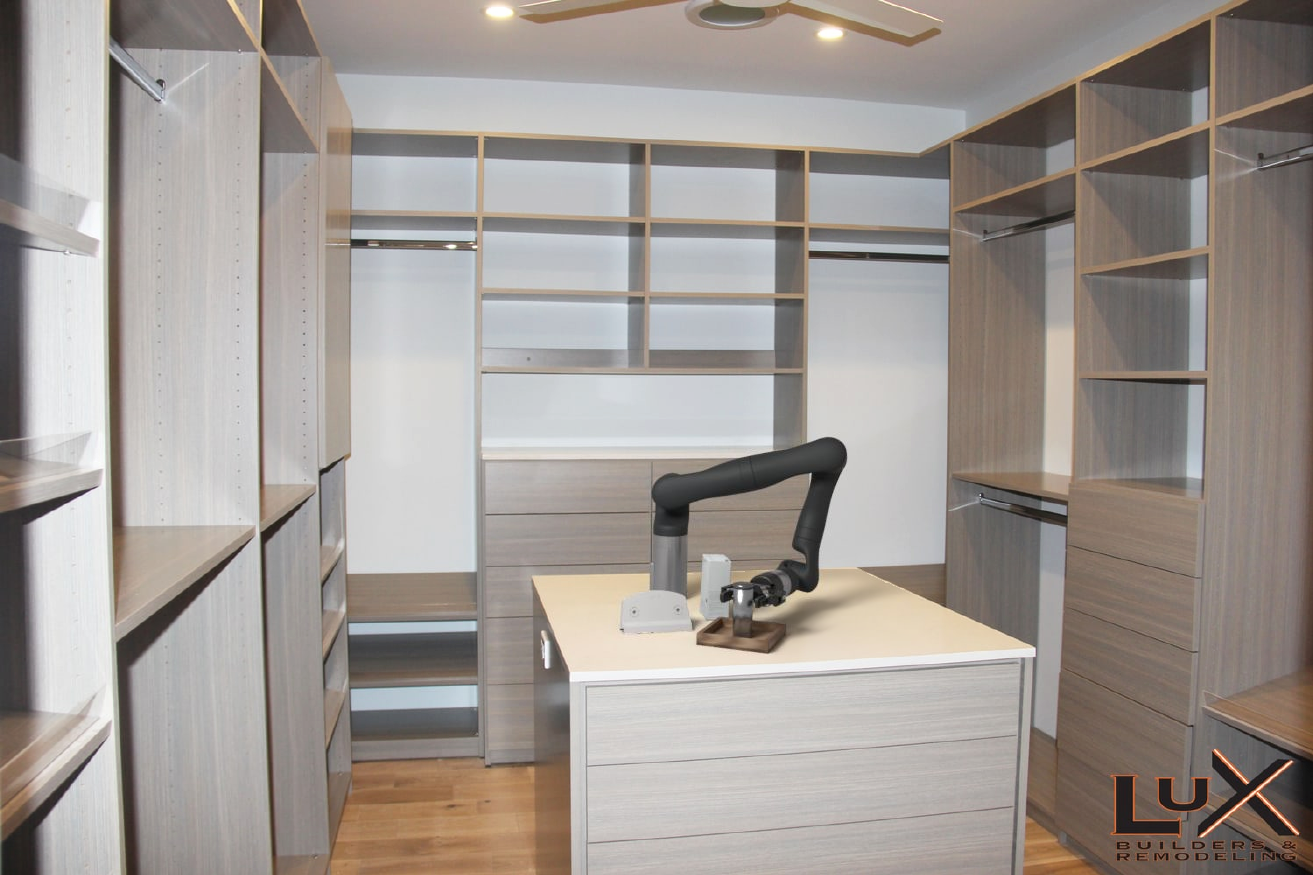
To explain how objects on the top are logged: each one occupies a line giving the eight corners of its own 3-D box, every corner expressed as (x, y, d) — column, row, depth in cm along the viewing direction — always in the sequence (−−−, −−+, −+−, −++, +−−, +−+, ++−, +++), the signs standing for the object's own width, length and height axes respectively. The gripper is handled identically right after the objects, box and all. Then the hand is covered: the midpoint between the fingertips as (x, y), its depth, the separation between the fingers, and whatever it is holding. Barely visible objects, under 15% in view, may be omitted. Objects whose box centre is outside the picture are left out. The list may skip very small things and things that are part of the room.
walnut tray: (696, 644, 198) (696, 633, 198) (719, 626, 213) (719, 616, 213) (767, 653, 192) (767, 641, 192) (785, 634, 207) (785, 623, 207)
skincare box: (699, 612, 226) (700, 553, 225) (722, 611, 227) (723, 553, 226) (706, 621, 218) (707, 560, 217) (730, 620, 219) (732, 559, 218)
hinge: (623, 634, 205) (620, 590, 208) (619, 636, 209) (616, 592, 212) (694, 631, 209) (690, 587, 212) (688, 632, 213) (685, 590, 216)
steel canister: (728, 637, 202) (729, 583, 201) (737, 632, 206) (738, 580, 205) (746, 640, 199) (748, 586, 199) (755, 636, 203) (757, 583, 203)
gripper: (743, 568, 218) (711, 580, 204) (798, 575, 210) (768, 588, 196) (742, 599, 218) (710, 612, 204) (797, 607, 211) (768, 622, 197)
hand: (739, 600), depth 200 cm, fingers open, 8 cm apart
